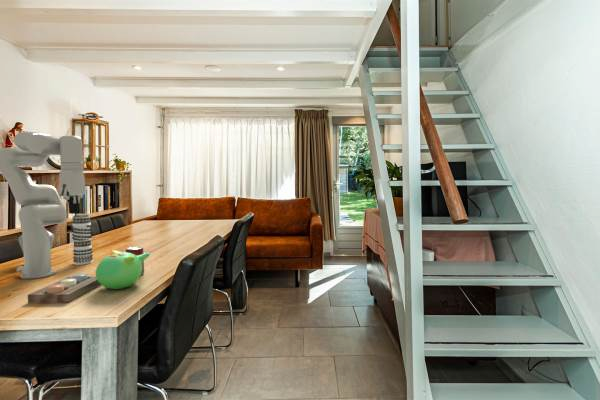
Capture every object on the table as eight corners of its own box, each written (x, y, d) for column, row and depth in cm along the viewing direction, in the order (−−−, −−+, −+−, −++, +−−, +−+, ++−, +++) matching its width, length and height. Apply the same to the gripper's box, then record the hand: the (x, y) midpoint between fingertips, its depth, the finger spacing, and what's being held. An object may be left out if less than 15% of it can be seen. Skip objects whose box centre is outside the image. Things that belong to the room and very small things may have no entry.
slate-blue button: (69, 287, 136) (69, 277, 136) (77, 283, 141) (77, 273, 141) (82, 287, 136) (82, 277, 136) (90, 283, 141) (89, 273, 141)
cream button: (57, 293, 129) (57, 282, 129) (66, 288, 134) (66, 278, 134) (71, 293, 129) (70, 282, 129) (79, 288, 134) (79, 278, 134)
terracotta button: (44, 299, 122) (43, 288, 122) (54, 295, 127) (53, 284, 127) (58, 299, 122) (57, 288, 122) (67, 294, 127) (67, 284, 127)
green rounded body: (110, 281, 146) (109, 246, 145) (151, 280, 148) (150, 245, 147) (87, 295, 128) (86, 256, 127) (135, 294, 130) (133, 255, 129)
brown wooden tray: (28, 303, 121) (27, 294, 121) (69, 283, 143) (68, 276, 142) (68, 302, 121) (68, 294, 121) (103, 283, 143) (103, 276, 143)
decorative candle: (88, 259, 185) (86, 212, 183) (97, 262, 179) (95, 213, 178) (69, 263, 177) (67, 214, 176) (77, 265, 172) (75, 215, 170)
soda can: (137, 277, 152) (136, 250, 151) (122, 276, 153) (121, 249, 152) (147, 272, 159) (146, 246, 158) (133, 272, 160) (132, 246, 159)
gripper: (74, 168, 146) (76, 211, 147) (49, 166, 131) (51, 215, 132) (92, 167, 146) (94, 211, 147) (69, 166, 131) (71, 215, 132)
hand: (74, 213), depth 140 cm, fingers closed
